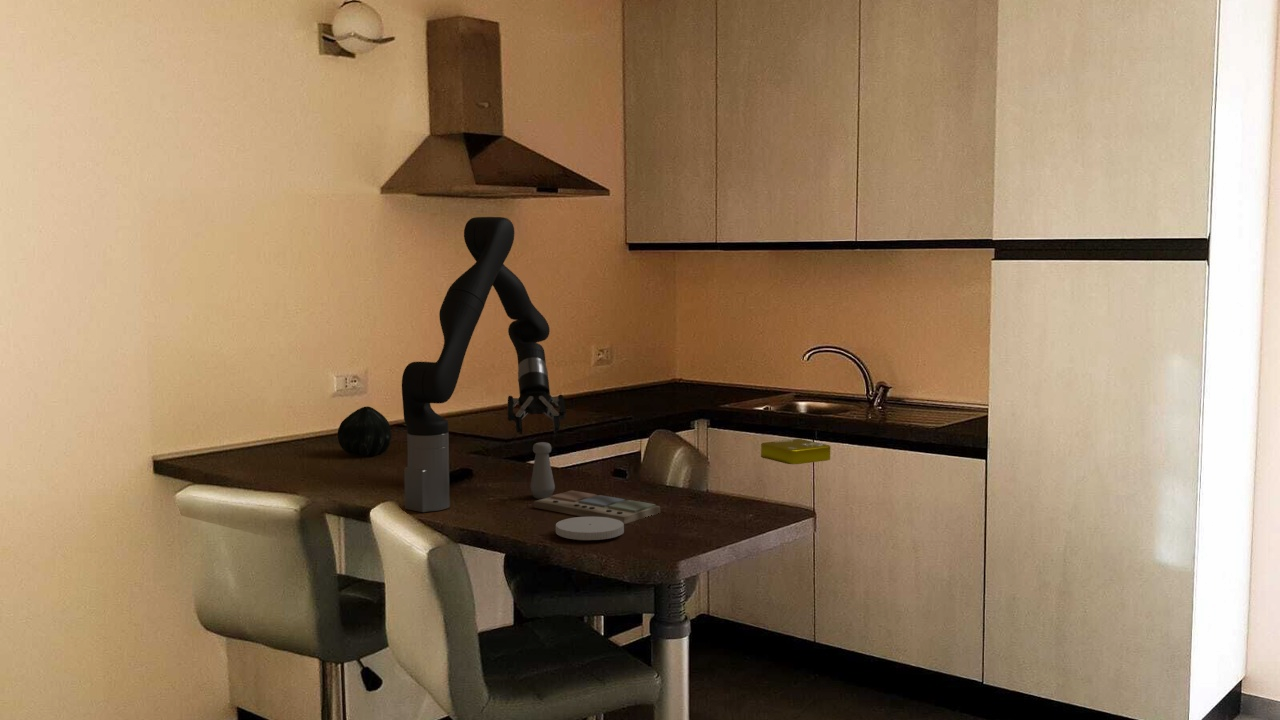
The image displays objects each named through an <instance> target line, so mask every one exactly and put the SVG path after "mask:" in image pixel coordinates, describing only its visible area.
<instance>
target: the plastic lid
mask: <svg viewBox="0 0 1280 720" xmlns="http://www.w3.org/2000/svg"><path fill="white" fill-rule="evenodd" d="M624 533H625V524H624V523H623V522H622V521H620V520H616V519H612V518H608V517H594V516H592V517H591V516H589V517H583V516H577V517H570V518H565V519H562V520H559V521H558V522H556V523H555V534H556V535H558V536H559V537H561V538H565V539H571V540H576V541H600V540H608V539H613V538H617V537H619V536H621V535H624Z"/></svg>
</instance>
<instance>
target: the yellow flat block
mask: <svg viewBox="0 0 1280 720" xmlns="http://www.w3.org/2000/svg"><path fill="white" fill-rule="evenodd" d="M760 457H761V458H763V459H766V460H770V461H771V460H772V461H774V462H778V463H783V464H787V465H801V464H803V465H804V464H808V463H817V462H818V463H819V462H825V461H827V462H828V461H830V460H831V446H830V445H829V444H825V443H821V442H817V441H810V440H806V439H802V438H801V439H800V438H794V439H786V440H785V439H783V440H775V441H767V442H762V443H760Z"/></svg>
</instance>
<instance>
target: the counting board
mask: <svg viewBox="0 0 1280 720" xmlns="http://www.w3.org/2000/svg"><path fill="white" fill-rule="evenodd" d="M533 502H534V503H533V504H534V506H533V507H534V509H541V510H546V511H552V512H556V513H557V512H558V513H562V514H568V515H573V516H577V517H589V516H591V517H592V516H594V517H608V518H612V519H616V520H620V521H622V522H623V523H624V525H626V524H630V523H632V522H635V521H639V520H642V519H645V517H646V518H649V517H652V516H656V515H658V513H659V514H661V506H660V505H656V504H655V503H650V502H643V501H639V500H633V499H627V500H626V499H625V498H620V497H614V496H608V495H601V494H600V495H599V494H598V495H597V494H596V493H591V492H583V491H579V490H578V491H577V490H568V491H565V492H560V493H556V494H552V495H551V497H548V498H545V499H538V500H534V501H533ZM651 515H652V516H651ZM648 516H649V517H648Z"/></svg>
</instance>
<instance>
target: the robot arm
mask: <svg viewBox="0 0 1280 720" xmlns="http://www.w3.org/2000/svg"><path fill="white" fill-rule="evenodd" d="M464 225H465V226H464V230H463V239H464V243H465V246H466V248H467V250H468V251H469V253H470V255H471V256H472V258H473V259H474V261H475V263H474V264H473V265H472V266H470V267H469V268H468V269H467V270H466V271H465V272H464V273H462V274H461V275H460V276H459V277H458V278H456V279H455V280H454V282H453V283H451V285H450V286H449V288H448V290H447V292H446V294H445V297H444V299H443V301H442V303H441V305H440V309H439V312H438V313H439V316H438V317H439V324H440V327H441V328H440V329H441V332H442V336H443V347H442V350H441V351H440V355H439V357H438V359H437V361H436V362H435V361H434V362H433V361H412V362H409V363H408V364H407V365H406V366H405V368H404V371H403V373H402V377H401V394H402V395H401V396H402V410H403V412H402V413H403V419H404V422H405V425H406V426H405V427H406V444H407V446H406V448H407V453H406V454H407V466H405V467H404V468H403V470H404V471H403V472H404V473H403V474H404V478H403V479H404V509H405V510H409V511H415V512H419V513H426V512H438V511H442V510H443V511H444V510H446V509H448V508H450V458H449V457H450V455H449V454H450V453H449V452H450V451H449V449H450V448H449V447H450V445H449V440H450V439H449V438H450V437H449V421H448V419H446V418H445V417H443V416H441V415H439V413H437V412H435V410H434V409H433V408H432V406H431V404H445V403H446V402H448V401H449V400H450V399H451V397H452V396H453V395H454V391H455V389H456V386H457V384H458V381H459V377H460V374H461V370H462V367H463V363H464V359H465V357H466V352H467V350H468V348H469V344H470V342H471V339H472V337H473V334H474V332H475V330H476V327H477V325H478V323H479V320H480V318H481V316H482V313H483V310H484V308H485V305H486V301H487V299H488V296H489V295H490V292H491V290H492V287H493V288H494V290H495V292H496V294H497V296H498V298H499V300H500V302H501V305H502V307H503V310H504V311H505V314H506V316H507V317H508V318H509V319H511V320H513V321H512V322H511V323H510V324H509V326H508V329H507V331H508V332H507V333H508V336H509V338H510V341H511V343H512V345H513V347H514V350H515V353H516V356H517V367H518V370H517V381H518V391H519V397H518V398H517V397H516V398H515V397H514V396H512V395H509V396H508V397H507V421H509V422H511V421H513V422H515V431H516V433H518V435H523V419H524V418H525V417H526V416H527V415H528V414H529V415H535V414H536V415H543V414H544V415H545V416H546V417H548V418H550V419H551V420H552V425H553V434H558V432H559V431H560V427H561V424H560V420H565V419H566V416H567V415H566V414H567V410H566V404H565V403H566V402H565V399H564V395H562V394H559V395H557V396H553V397H552V394H551V391H550V389H551V388H550V381H549V372H548V368H547V362H546V354H545V349H544V346H543V345H541V344H540V342H543V341H546V340H547V339H548V337H549V336H550V330H551V329H550V325H549V323H548V321H547V320H546V318H545V317H544V315H543V314H542V313H541V312H540V311H539V310H538V308H536V307H535V305H534V304H533V302H532V301H531V298H530V297H529V294H528V292H527V289H526V287H525V285H524V282H522V281H521V279H520V278H519V277H518V276H517V275H516V274H515V273H514V272H513V271H512V270H511V269H509V268H508V267H507V266H506V265H505V264H504V263H505V261H506V260H507V258H508V256H509V254H510V252H511V249H512V247H513V244H514V241H515V227H514V223H513V222H512V221H511V220H510V219H509V218H507V217H501V216H476V217H471V218H470V219H469V220H468V221H467V222H466V224H464ZM553 403H554V404H555V406H556V407H557V408H558V410H556V409H555V408H554V406H553ZM516 405H518V406H520V408H519V410H518V411H517V412H515V413H514V408H515V407H516Z"/></svg>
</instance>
